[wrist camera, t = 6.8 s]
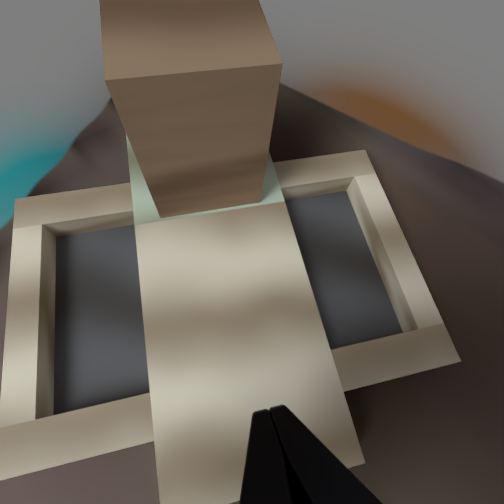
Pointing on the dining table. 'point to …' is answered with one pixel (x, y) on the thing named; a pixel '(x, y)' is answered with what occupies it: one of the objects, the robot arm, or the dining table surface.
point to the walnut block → (193, 97)
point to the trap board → (207, 322)
